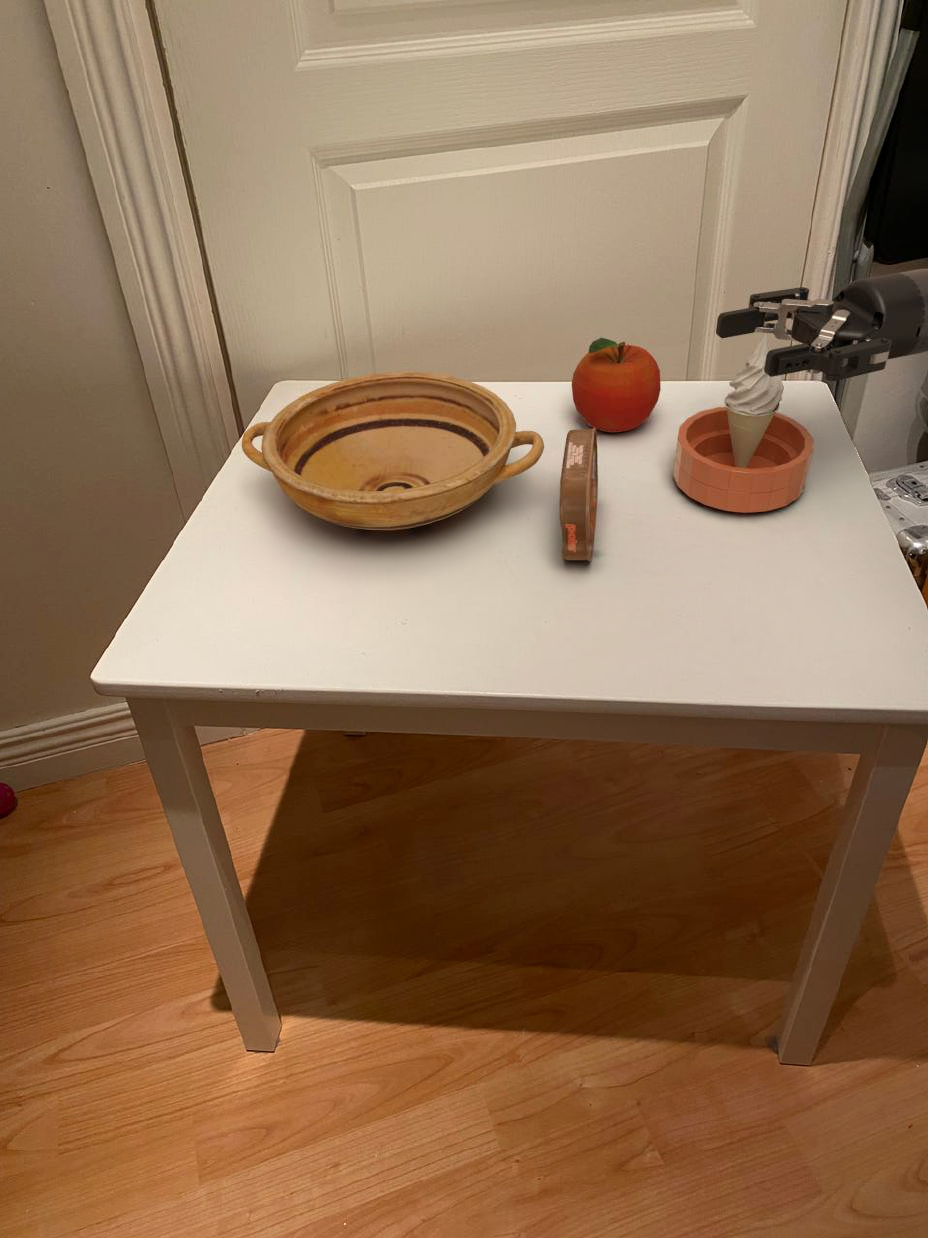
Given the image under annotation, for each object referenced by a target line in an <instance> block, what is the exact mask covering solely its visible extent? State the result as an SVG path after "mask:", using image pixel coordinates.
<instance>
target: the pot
mask: <svg viewBox="0 0 928 1238" xmlns="http://www.w3.org/2000/svg"><path fill="white" fill-rule="evenodd" d="M813 453H814V438H813V436H812V435H811V433H810V432H809V430H808V429H807V428H806V427H805V426H804V425H802V424H801V423H800V422H798V421H797V420H795V419H794V418H792V417H790V416H788V415H787V416H786V415H785V414H782V413H780V412H777V411H776V412H775V414H774V416H773V418H772V419H771V421H770V423H769V425H768V427H767V429H766V431H765V433H764V435H763V437H762V439H761V441H760V443H759V445H758V447H757V449H756V451H755V452H754V454H753V456H752V458H751V460H750V462H749V464H748V466H747V468H740V467H735V461H734V454H733V448H732V441H731V435H730V429H729V422H728V415H727V408H726V406H718V407H714V408H713V407H712V408H709V409H705V410H701V411H699V412H697V413H694V414H693V415H691V416H689V417H687V418H686V419H685V420H684V421H683V422H682V424H681V425H680V426H679V428H678V433H677V439H676V447H675V458H674V465H673V473H672V474H673V475H672V476H673V478H674V480H675V483H676V485H677V487H678V488H679V489H680V490H681V491H682V492H683V493H684V494H685V495H687V496H688V497H689V498H691V499H693V500H695V501H697V502H699V503H700V504H702V505H705V506H707V507H711V508H713V509H716V510H717V509H718V510H722V511H725V512H730V513H743V514H747V513H759V512H760V513H762V512H769V511H770V512H771V511H773V510H778V509H780V508H784V507H786V506H788V505H790V504H792V503H793V502H794V501H796V500H798V499H799V498H800V496H801V495H802V493H803V492H804V491H805V488H806V483H807V480H808V475H809V471H810V465H811V462H812V458H813Z"/></svg>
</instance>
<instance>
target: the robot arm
mask: <svg viewBox="0 0 928 1238" xmlns="http://www.w3.org/2000/svg"><path fill="white" fill-rule="evenodd" d="M809 293H810V289H809V288H808V287H804V286H800V287H793V288H787V289H780V290H779V289H778V290H773V291H772V290H771V291H765V292H759V293H753V294H750V295H749V302H748V307H746V308H741V309H736V310H729V311H723V312H721V313H720V314H718V316H717V319H716V320H717V321H716V328H715V334H716V336H718V337H720V338H721V339H727V338H732V337H737V336H743V335H748V334H754V333H765V332H766V334H773V335H774V337H775V338H776V339H777V340H781V341H782V340H783V341H784V340H785V341H793V342H798V343H800V344H794V345H789V346H784V347H777V348H773V349H770V351H769V352H768V353H767V356H766V361H765V367H764V372H765V373H766V374H767V375H769V376H770V377H774V376H784V375H789V374H794V373H799V372H805V371H806V372H807V373H809V374H811V375H813V374H814V375H816V374H820V373H823V374H824V376H823V377H824V380H826V381H829V382H838V381H841V380H845V379H851V378H854V377H858V376H862V375H867V374H872V373H875V372H879V371H884V370H885V369H886V365H887V361H888V360H892V359H898V358H902V357H907V356H912V355H917V354H922V353H926V352H928V268H919V269H911V270H906V271H900V272H895V273H888V274H884V275H878V276H872V277H866V278H860V279H856V280H853V281H851V282H849V283H848V284H847V285H845V286H844V287H843V288H842V290H841V291H840V292H839V293H838V294H837V295H836V296H835V297H834V298H832V299H826V298H825V299H824V298H816V299H814V300H811V299H809V295H810V294H809ZM787 319H790V320H792V325H791V329H789V328H787V326H786V325H787ZM774 321H777V322H775V323H773V322H774ZM771 322H772V323H771ZM844 359H845V360H847V363H846V364H845V365H844V366H842V365H843V361H844Z"/></svg>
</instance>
